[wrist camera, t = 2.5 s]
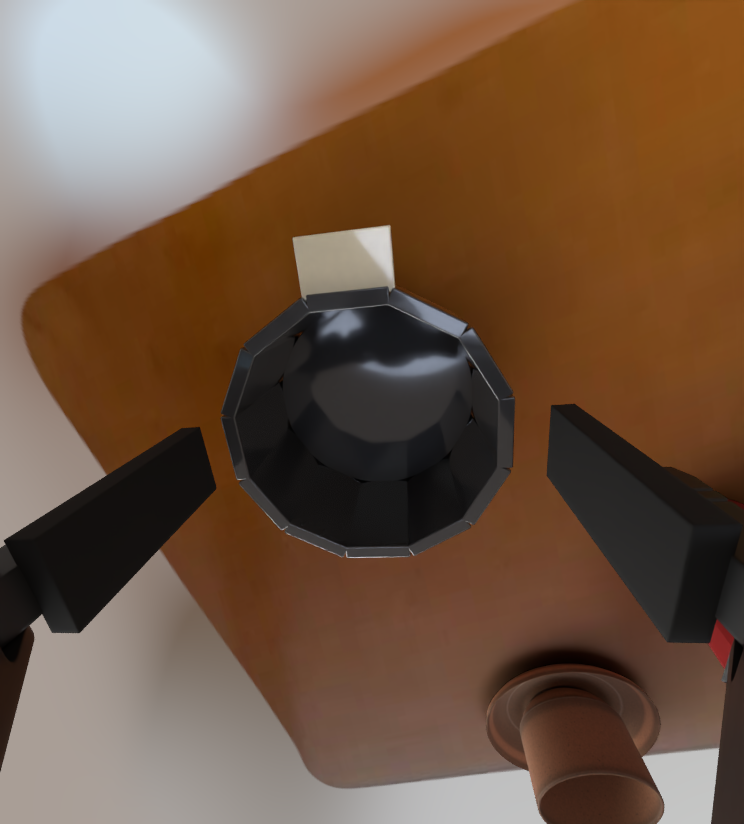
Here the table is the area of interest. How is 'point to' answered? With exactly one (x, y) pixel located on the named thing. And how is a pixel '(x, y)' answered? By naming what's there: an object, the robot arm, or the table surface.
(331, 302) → the cooking pot
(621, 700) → the cup and saucer
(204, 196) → the table surface
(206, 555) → the table surface
